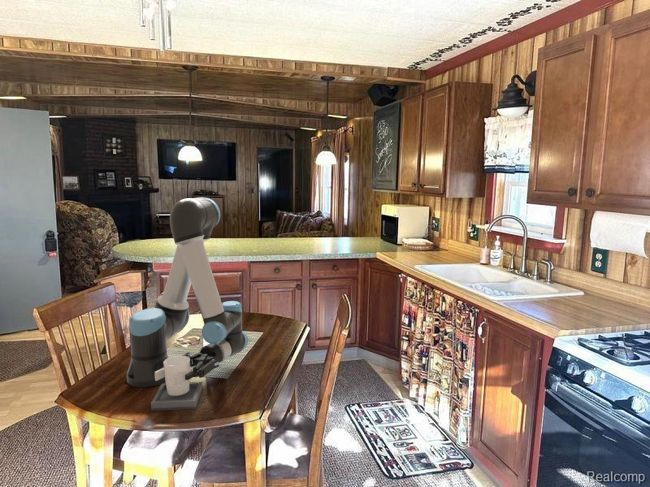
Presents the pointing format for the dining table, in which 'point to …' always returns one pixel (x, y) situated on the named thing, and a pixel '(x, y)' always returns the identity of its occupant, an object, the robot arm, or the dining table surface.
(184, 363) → the white cup
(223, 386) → the dining table surface
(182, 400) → the charcoal tray
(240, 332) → the robot arm
